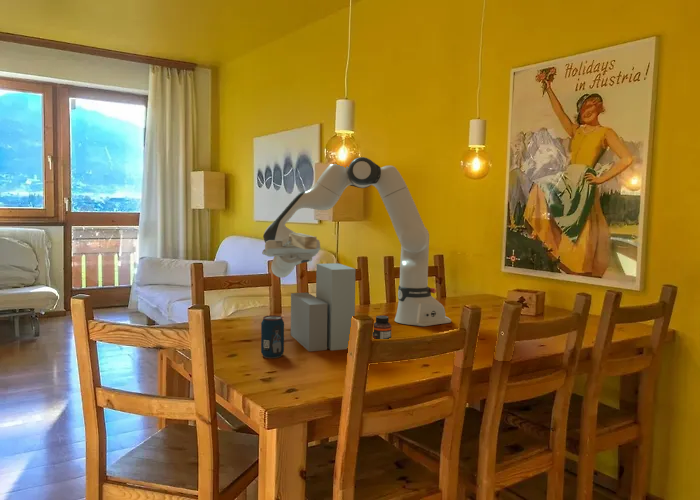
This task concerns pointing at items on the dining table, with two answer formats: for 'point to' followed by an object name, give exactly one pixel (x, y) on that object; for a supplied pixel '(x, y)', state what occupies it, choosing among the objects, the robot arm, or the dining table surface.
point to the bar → (303, 241)
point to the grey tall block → (337, 301)
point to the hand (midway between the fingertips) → (297, 238)
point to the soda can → (272, 336)
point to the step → (309, 321)
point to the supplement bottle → (382, 328)
